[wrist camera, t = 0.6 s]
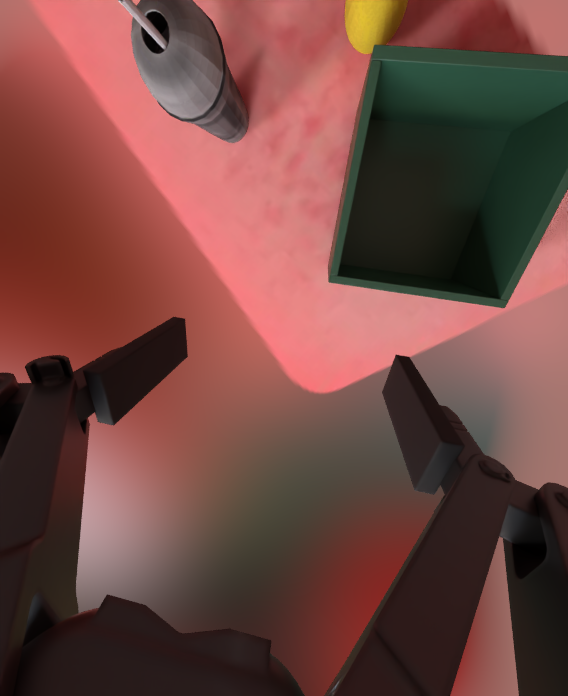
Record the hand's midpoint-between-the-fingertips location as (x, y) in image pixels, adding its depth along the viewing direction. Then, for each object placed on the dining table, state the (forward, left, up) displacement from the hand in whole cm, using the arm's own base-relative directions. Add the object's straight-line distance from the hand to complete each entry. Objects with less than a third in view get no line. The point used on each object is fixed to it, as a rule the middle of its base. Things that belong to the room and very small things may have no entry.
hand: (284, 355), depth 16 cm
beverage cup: (-18, -13, -25) cm, 34 cm away
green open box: (-11, +11, -25) cm, 30 cm away
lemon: (-26, +2, -25) cm, 37 cm away
